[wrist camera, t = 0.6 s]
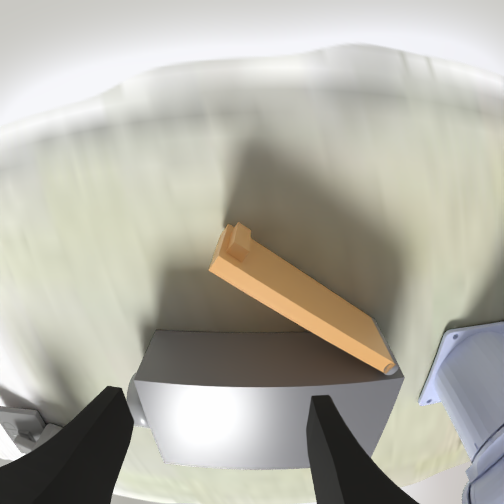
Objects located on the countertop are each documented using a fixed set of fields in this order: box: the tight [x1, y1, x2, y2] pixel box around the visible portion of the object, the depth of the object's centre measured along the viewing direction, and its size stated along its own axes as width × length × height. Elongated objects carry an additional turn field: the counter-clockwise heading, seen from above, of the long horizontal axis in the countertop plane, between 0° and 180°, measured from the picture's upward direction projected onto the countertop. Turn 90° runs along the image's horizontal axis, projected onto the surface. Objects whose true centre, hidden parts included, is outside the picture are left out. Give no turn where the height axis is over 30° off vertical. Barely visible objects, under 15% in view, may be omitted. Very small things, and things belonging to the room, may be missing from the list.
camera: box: [0, 406, 64, 454], centre depth 22 cm, size 9×12×15 cm
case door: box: [209, 222, 399, 375], centre depth 17 cm, size 12×1×5 cm, turn 56°
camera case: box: [127, 330, 404, 470], centre depth 20 cm, size 17×9×5 cm, turn 91°
